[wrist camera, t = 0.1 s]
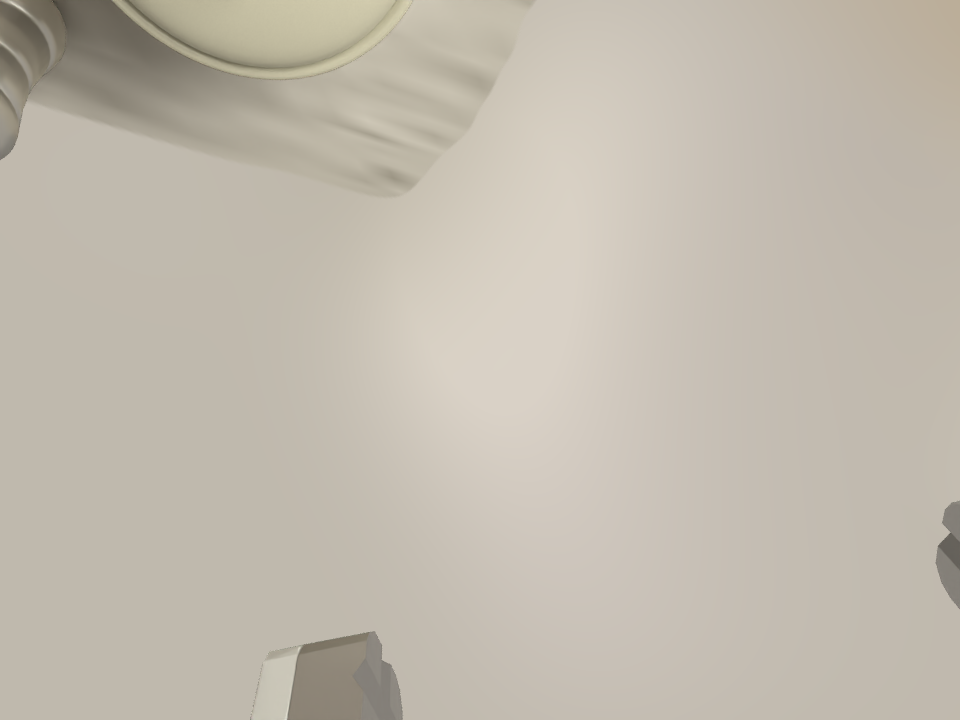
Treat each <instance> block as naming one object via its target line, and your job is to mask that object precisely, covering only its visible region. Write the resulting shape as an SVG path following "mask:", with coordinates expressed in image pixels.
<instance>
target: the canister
mask: <svg viewBox="0 0 960 720" xmlns="http://www.w3.org/2000/svg"><path fill="white" fill-rule="evenodd" d="M112 1H113V2H114V3H115V4H116V5H117V6H118V7H119V8H120V9H121V10H122V11H123V12H124V13H125V14H126V15H127V16H128V17H129V18H130V19H131V20H133V21H134V22H135V23H136V24H137V25H139V26H140V27H141V28H142V29H144V30H145V31H146V32H147V33H149V34H150V35H151V36H153V37H154V38H156V39H157V40H159V41H160V42H162V43H163V44H165V45H166V46H168V47H170V48H171V49H173V50H175V51H176V52H178V53H180V54H182V55H184V56H186V57H188V58H190V59H192V60H194V61H196V62H198V63H201V64H203V65H206V66H208V67H211V68H214V69H217V70H220V71H223V72H226V73H230V74H234V75H238V76H243V77H249V78H256V79H267V80H288V79H299V78H305V77H311V76H315V75H319V74H323V73H326V72H329V71H332V70H335V69H337V68H340V67H342V66H344V65H346V64H348V63H350V62H352V61H354V60H356V59H357V58H359V57H361V56H362V55H364V54H365V53H367V52H368V51H369V50H371V49H372V48H373V47H375V46H376V45H377V44H378V43H379V42H380V41H382V40H383V39H384V38H385V37H386V36H387V35H388V34H389V33H390V32H391V31H392V30H393V28H394V27H395V26H396V25H397V24H398V22H399V21H400V20H401V19H402V17H403V16H404V14H405V13H406V11H407V10H408V8H409V7H410V5H411V3H412V2H413V0H112Z"/></svg>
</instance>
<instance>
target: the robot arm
mask: <svg viewBox="0 0 960 720" xmlns="http://www.w3.org/2000/svg"><path fill="white" fill-rule="evenodd" d="M942 523H943V525H944V526H945V527H946V528H947V529H948V530H949V531H950V532H951V533H950V534H949V535H948V536H947V537H946V538H945V539H944V540H943V541H942V542H941V543H940V544H939V545H938V550H937V558H936V565H937V568H938V572H939V575H940V579H941V582H942V584H943V586H944V588H945V589H946V591H947V593H948V595H949V596H950V598H951V599H952V600H953V601H954V603H955V604H956V605H957V606H958V608H959V609H960V501H957V502H953V503H951V504H950V505H949V506H948V507H947V508H946V509H945V513H944V517H943V522H942ZM381 659H382V645H381V643H380V641H379V639H378V637H377V635H376V633H375V632H367V633H362V634H357V635H352V636H346V637H341V638H336V639H331V640H325V641H320V642H315V643H310V644H304V645H300V646H295V647H290V648H285V649H281V650H276V651H271V652H269V653H268V655H267V657H266V659H265V661H264V663H263V664H262V669H261V673H260V678H259V682H258V687H257V691H256V696H255V701H254V705H253V710H252V714H251V719H250V720H402V705H401V696H400V689H399V686H398V682H397V678H396V675H395V673H394V671H393V668H392V666H391V665H390V664H388V663H386V662H384V661H382V660H381Z"/></svg>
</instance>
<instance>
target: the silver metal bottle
mask: <svg viewBox="0 0 960 720" xmlns="http://www.w3.org/2000/svg"><path fill="white" fill-rule="evenodd" d="M65 44H66V28H65V24H64V20H63V18H62V16H61V14H60V12H59V10H58V9H57V7H56V6H55V4H54V3H53V2H52V1H51V0H0V160H1V159H3V158H4V157H5V156H7V155H8V154H9V153H10V152H11V150H12V149H13V147H14V145H15V142H16V140H17V137H18V133H19V127H20V121H21V117H22V112H23V108H24V106H25V103H26V101H27V99H28V95H29V94H30V91H31V89H32V88H33V87H34V85H35V84H36V83H37V82H38V80H39V79H40V78H41V77H42V76H43V75H45V74H46V73H48V72H49V71H50V70H51V69H52V68H53V67H54V66H55V65H56V64H57V63H58V62H59V61H60V59H61V58H62V56H63V54H64V50H65Z"/></svg>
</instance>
